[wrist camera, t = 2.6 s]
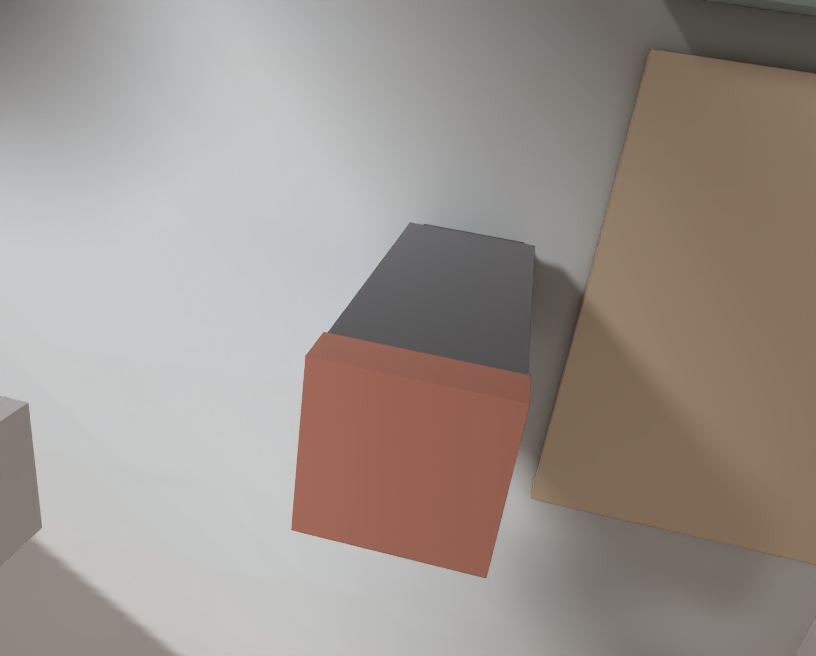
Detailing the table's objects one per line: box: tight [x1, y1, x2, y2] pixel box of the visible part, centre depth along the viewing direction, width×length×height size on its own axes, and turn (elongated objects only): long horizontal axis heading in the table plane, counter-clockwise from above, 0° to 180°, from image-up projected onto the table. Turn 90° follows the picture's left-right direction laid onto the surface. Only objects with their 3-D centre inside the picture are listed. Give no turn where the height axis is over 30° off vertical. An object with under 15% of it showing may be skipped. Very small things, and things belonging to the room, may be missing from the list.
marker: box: [291, 223, 535, 578], centre depth 18 cm, size 4×4×11 cm
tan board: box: [531, 49, 816, 564], centre depth 21 cm, size 14×16×1 cm
